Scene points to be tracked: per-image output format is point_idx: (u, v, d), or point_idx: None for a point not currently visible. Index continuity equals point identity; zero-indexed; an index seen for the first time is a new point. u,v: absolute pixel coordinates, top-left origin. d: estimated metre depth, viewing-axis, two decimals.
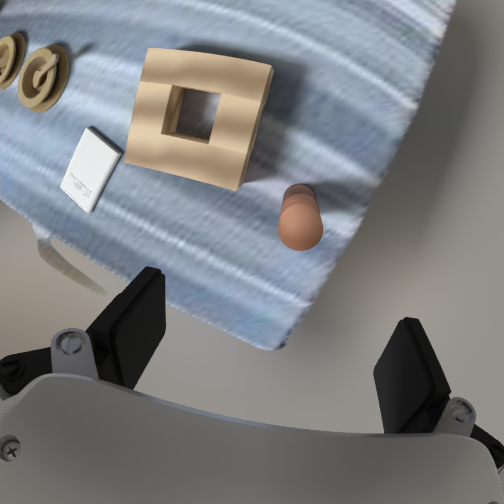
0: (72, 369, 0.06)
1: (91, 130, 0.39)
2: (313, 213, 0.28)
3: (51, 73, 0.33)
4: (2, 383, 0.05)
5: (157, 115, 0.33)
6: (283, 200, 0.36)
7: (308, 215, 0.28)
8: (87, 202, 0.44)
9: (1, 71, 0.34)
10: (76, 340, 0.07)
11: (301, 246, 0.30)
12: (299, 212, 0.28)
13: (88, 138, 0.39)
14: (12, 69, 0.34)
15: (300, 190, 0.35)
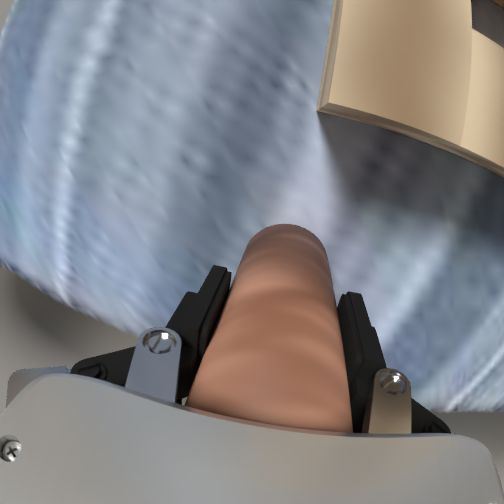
0: (152, 368, 0.07)
1: None
2: None
3: None
4: None
5: None
6: (301, 264, 0.11)
7: None
8: None
9: None
10: (166, 341, 0.08)
11: None
12: None
13: None
14: None
15: None
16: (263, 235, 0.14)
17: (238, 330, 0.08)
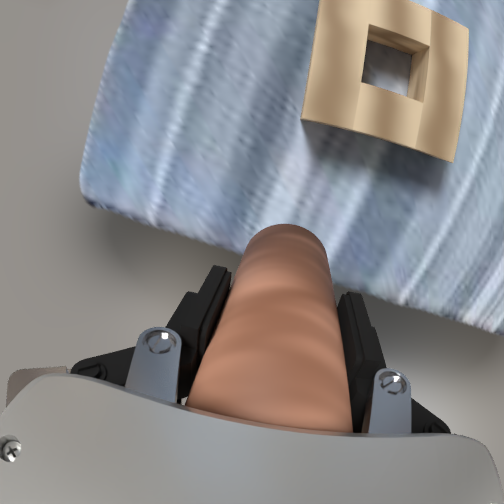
0: (152, 368, 0.07)
1: None
2: None
3: None
4: None
5: (391, 22, 0.19)
6: (301, 264, 0.11)
7: None
8: None
9: None
10: (166, 341, 0.08)
11: None
12: None
13: None
14: None
15: None
16: (263, 235, 0.14)
17: (238, 330, 0.08)
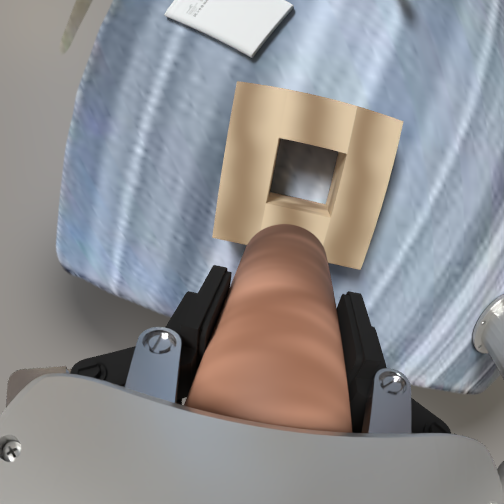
0: (152, 368, 0.07)
1: (287, 12, 0.23)
2: None
3: None
4: None
5: (304, 132, 0.25)
6: (300, 264, 0.11)
7: None
8: (179, 11, 0.24)
9: None
10: (166, 341, 0.08)
11: None
12: None
13: (276, 8, 0.23)
14: None
15: None
16: (263, 235, 0.14)
17: (237, 330, 0.08)
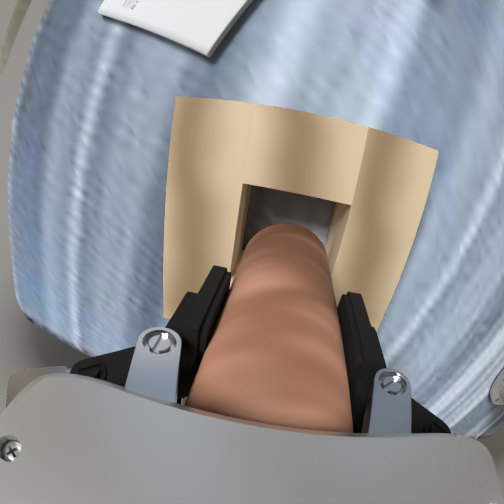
0: (152, 368, 0.07)
1: None
2: None
3: None
4: None
5: (283, 173, 0.16)
6: (301, 263, 0.11)
7: None
8: (114, 5, 0.16)
9: None
10: (166, 341, 0.08)
11: None
12: None
13: None
14: None
15: None
16: (263, 234, 0.14)
17: (238, 329, 0.08)
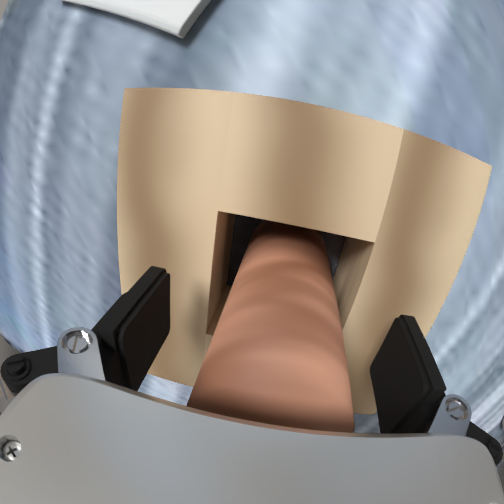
0: (78, 368, 0.06)
1: None
2: None
3: None
4: (7, 382, 0.05)
5: (277, 196, 0.11)
6: (301, 243, 0.13)
7: None
8: None
9: None
10: (83, 339, 0.07)
11: None
12: (337, 428, 0.06)
13: None
14: None
15: None
16: (268, 222, 0.16)
17: (251, 291, 0.09)
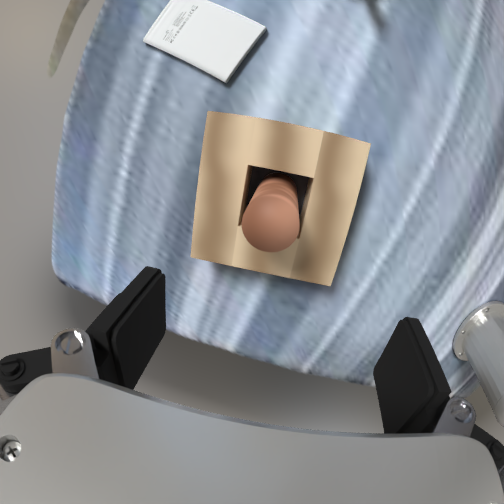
0: (72, 369, 0.06)
1: (260, 34, 0.26)
2: (294, 238, 0.23)
3: None
4: (2, 383, 0.05)
5: (272, 159, 0.27)
6: (282, 180, 0.29)
7: (290, 233, 0.23)
8: (156, 38, 0.26)
9: None
10: (76, 340, 0.07)
11: (247, 229, 0.23)
12: (293, 222, 0.22)
13: (248, 32, 0.25)
14: None
15: None
16: (267, 175, 0.32)
17: (262, 188, 0.26)
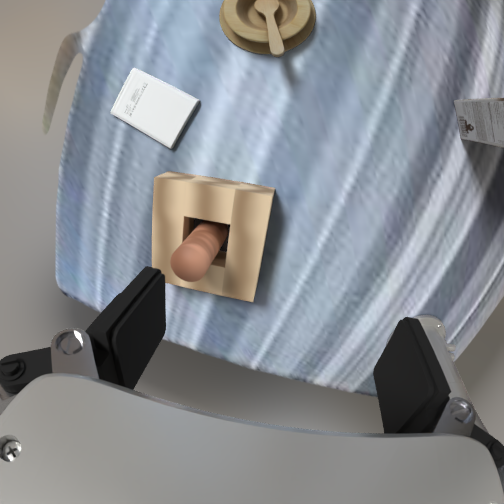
0: (72, 369, 0.06)
1: (194, 107, 0.37)
2: (204, 273, 0.34)
3: (262, 37, 0.30)
4: (2, 383, 0.05)
5: (200, 211, 0.39)
6: (210, 225, 0.40)
7: (201, 270, 0.34)
8: (120, 111, 0.38)
9: None
10: (76, 340, 0.07)
11: (174, 267, 0.34)
12: (202, 263, 0.34)
13: (185, 106, 0.37)
14: None
15: (221, 239, 0.41)
16: None
17: (189, 236, 0.37)
